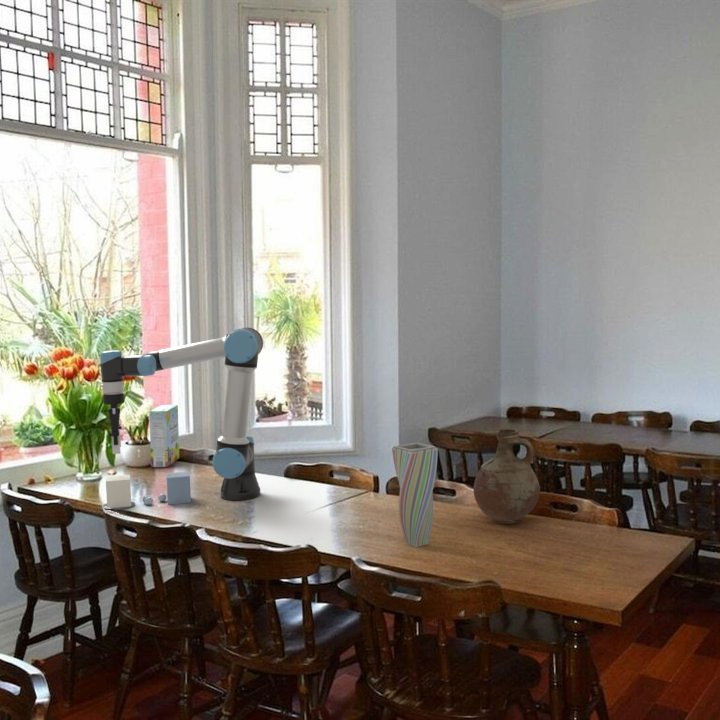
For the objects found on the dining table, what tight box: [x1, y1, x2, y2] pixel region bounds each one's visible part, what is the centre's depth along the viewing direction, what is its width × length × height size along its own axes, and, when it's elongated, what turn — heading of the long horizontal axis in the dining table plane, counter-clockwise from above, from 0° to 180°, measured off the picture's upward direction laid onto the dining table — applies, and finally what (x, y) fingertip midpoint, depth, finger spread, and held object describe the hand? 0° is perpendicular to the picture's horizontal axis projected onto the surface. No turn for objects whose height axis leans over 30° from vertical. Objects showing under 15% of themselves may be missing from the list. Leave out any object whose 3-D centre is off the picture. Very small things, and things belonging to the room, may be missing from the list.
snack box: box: [149, 404, 180, 468], centre depth 393 cm, size 22×9×26 cm, turn 179°
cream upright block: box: [105, 474, 132, 508], centre depth 317 cm, size 8×8×10 cm
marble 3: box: [157, 493, 167, 503], centre depth 322 cm, size 3×3×3 cm
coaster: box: [103, 500, 136, 511], centre depth 317 cm, size 11×11×1 cm
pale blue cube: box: [165, 471, 192, 505], centre depth 322 cm, size 8×8×10 cm
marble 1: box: [142, 494, 151, 504], centre depth 321 cm, size 3×3×3 cm
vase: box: [391, 442, 439, 548], centre depth 260 cm, size 14×14×30 cm
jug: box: [473, 428, 541, 525], centre depth 282 cm, size 22×22×30 cm
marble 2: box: [144, 496, 154, 506], centre depth 318 cm, size 3×3×3 cm
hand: (116, 450), depth 315 cm, fingers open, 13 cm apart
